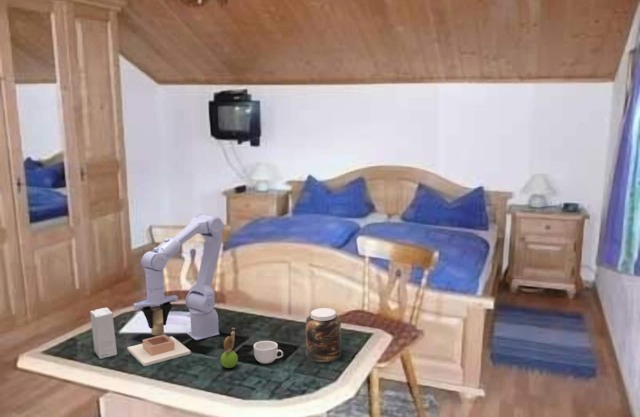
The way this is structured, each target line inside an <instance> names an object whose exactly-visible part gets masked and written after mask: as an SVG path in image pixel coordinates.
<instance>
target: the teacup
mask: <svg viewBox="0 0 640 417" xmlns="http://www.w3.org/2000/svg"><path fill="white" fill-rule="evenodd" d="M278 346H279V345H278V343H277V342H275V341H271V340H260V341H257V342H255V343H254V344H253V354H254V357H255V360H256V361H257V362H259V363H260V364H262V365H263V364H270V363H273V362H274V361H275V360H276V359H280V358H282V357H283V356H284V352H283V350H281V349H278ZM278 353H281V355H279V356H278Z"/></svg>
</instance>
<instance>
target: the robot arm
mask: <svg viewBox="0 0 640 417" xmlns="http://www.w3.org/2000/svg"><path fill="white" fill-rule="evenodd" d="M224 227H225V224H224V222H223V221H222V219H221V218H220V217H219V216H213V215H208V214H207V215H206V214H203V213H198V214H196V215H195V216H193V217H192V218H191V219H190V222H189V223H188V224H187V225H186V226H185V227H184V228H183V229H182V230H181V231H179V232H178V233H177V234H176V235H175V236H173V237H166V238H164V239H163V241H162V243H160V244H159V245H158V246H155V247H153V249H152V251H151V250H149V251H147V252H145V253H144V254H143V255H142V258H141V260H140V265H141V266H142V267H143V268H144V271H143V272H144V273H145V275H144V276H145V288H146V289H145V290H146V299H143V300H141V301H138V302H135V303H133V310H134V311H139V310H141V311H142V313H143V315H144V317H145V319H146V322H147V326H148V328H150V329H151V328H153V321H152V315H153V310H152V307H156V306H159V308H161V309H163V324H164V326H166V325H167V320H168V317H169V314H170V312H171V310H172V307H173V305H172V303H178V301H179V299H178V298H179V297H178V295H175V294H173V295H165V284H164V283H165V280H164V279H165V278H164V269H165V268H166V266H167V263H168V262H169V260H170V259H171V258H173V257H174V256H175V255H176V254H178V252H180V251H181V250H180V249H181V246H182V245H184V244H185V243H186V242H188V241H189V240H190V239H192V238H193V237H194V236H195V235H198V234H200V235H201V236H202V237H203V239H204V241H205V245H204V249H203V253H202V259H201V262H200V266H199V271H198V274H197V279H196V282H195V284H194V285H192V286H191V287H190V289H189V292H188V294H187V295H186V297H185V306H186V307H187V308H188V311H189V313H190V331H188V332H187V333H186V334H187V335H188V336H189V337H191V338H192V339H194V340H195V341H199V340H203V339H207V338H211V337H214V336H219V335H220V332H219V328H220V327H219V316H218V312H217V310H216V309H215V305H216V303H215V302H216V301H215V296H216V293H215V291H214V290H213V287H212V286H213V282H214V281H213V280H214V276H215V272H216V267H217V263H218V259H219V254H220V251H221V246H222V242H223V230H224Z"/></svg>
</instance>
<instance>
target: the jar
mask: <svg viewBox="0 0 640 417" xmlns="http://www.w3.org/2000/svg"><path fill="white" fill-rule="evenodd" d="M341 321H342V320H341V318H340V316H339V315H337V312H336V310H334V309H333V308H329V307H328V308H327V307H321V308H320V307H319V308H316V309H312V310H311V311H310V315H309V316H307V317H306V320H305V356H306V358H307V360H308V361H309V360H310V361H311V362H315V363H331V362H334V361H336V359H337V360H339V359H340V358H341V356H342V322H341ZM330 361H331V362H330Z"/></svg>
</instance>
